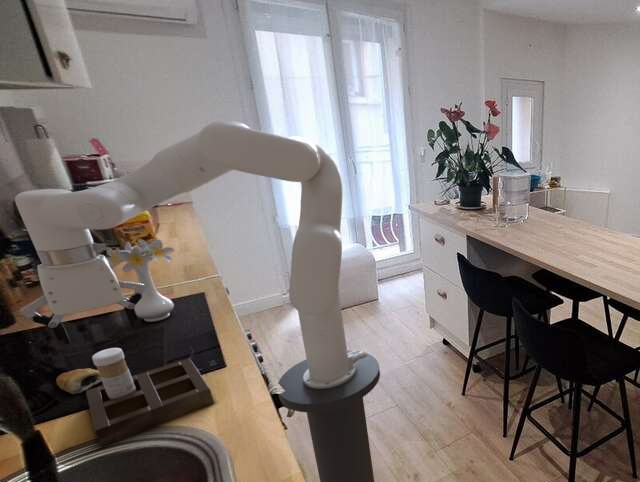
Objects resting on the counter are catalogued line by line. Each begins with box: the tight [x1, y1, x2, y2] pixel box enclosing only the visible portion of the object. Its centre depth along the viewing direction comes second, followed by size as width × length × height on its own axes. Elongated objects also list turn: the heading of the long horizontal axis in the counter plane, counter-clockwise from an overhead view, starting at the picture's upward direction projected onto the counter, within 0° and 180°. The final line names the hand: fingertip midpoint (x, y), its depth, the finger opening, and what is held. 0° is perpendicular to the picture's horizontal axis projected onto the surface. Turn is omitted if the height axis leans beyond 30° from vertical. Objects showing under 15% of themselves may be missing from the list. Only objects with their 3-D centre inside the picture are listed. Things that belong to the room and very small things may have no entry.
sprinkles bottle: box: [91, 347, 136, 400], centre depth 88 cm, size 5×5×13 cm
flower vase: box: [105, 238, 175, 323], centre depth 124 cm, size 13×18×25 cm
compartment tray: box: [85, 357, 215, 448], centre depth 90 cm, size 18×18×4 cm
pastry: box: [55, 367, 102, 395], centre depth 96 cm, size 9×7×4 cm
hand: (101, 332), depth 84 cm, fingers open, 9 cm apart
